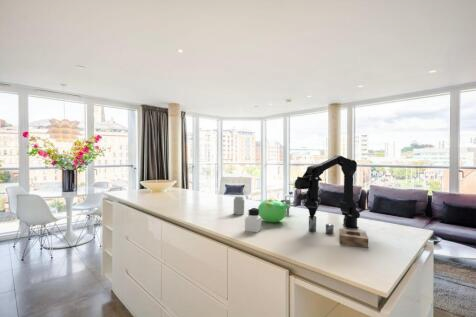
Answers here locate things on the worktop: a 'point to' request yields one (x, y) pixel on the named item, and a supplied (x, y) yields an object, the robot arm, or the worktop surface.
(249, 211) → the medicine bottle
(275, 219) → the green rounded lump
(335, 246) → the worktop surface
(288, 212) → the mechanical component
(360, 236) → the hole block
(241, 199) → the can
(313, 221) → the tall pin
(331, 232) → the short pin
